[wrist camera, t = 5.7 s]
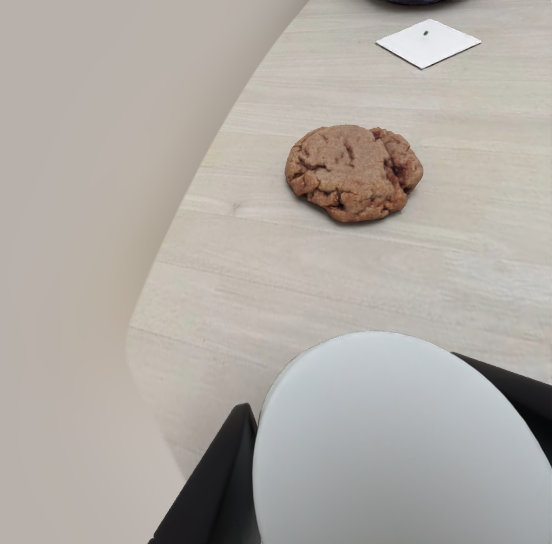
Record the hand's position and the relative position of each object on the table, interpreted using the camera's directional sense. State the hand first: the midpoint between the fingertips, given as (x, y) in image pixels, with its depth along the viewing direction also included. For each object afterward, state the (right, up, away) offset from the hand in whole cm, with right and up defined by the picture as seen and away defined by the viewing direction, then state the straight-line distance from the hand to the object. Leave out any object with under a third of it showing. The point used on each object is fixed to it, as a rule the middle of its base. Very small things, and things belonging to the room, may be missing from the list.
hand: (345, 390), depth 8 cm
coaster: (+15, +30, +22) cm, 40 cm away
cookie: (+4, +11, +14) cm, 19 cm away
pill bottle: (+1, -4, +5) cm, 7 cm away
